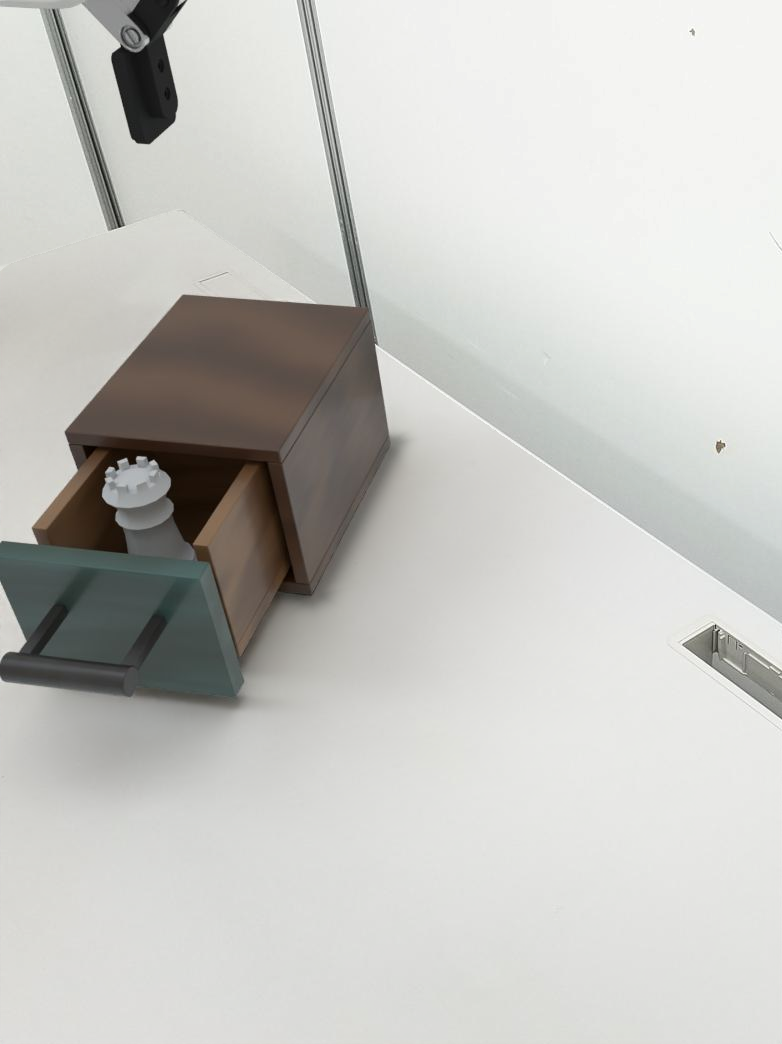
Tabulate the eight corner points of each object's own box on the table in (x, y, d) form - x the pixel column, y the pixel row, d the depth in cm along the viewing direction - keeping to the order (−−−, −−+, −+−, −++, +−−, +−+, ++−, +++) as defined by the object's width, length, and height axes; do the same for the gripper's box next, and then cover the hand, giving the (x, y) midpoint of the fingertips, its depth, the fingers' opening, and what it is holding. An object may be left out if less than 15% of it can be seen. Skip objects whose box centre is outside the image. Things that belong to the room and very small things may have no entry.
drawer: (196, 771, 59) (154, 650, 54) (-9, 744, 60) (-70, 624, 55) (327, 529, 72) (303, 413, 67) (156, 512, 74) (120, 398, 69)
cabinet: (312, 595, 69) (279, 450, 63) (114, 574, 71) (63, 431, 65) (390, 444, 80) (369, 307, 74) (217, 428, 82) (182, 293, 75)
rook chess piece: (184, 632, 64) (143, 506, 59) (110, 613, 66) (63, 489, 60) (231, 578, 67) (196, 454, 62) (160, 561, 69) (120, 438, 63)
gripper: (-364, -332, 45) (-165, 144, 56) (89, -323, 42) (200, 173, 54) (-224, -355, 50) (-69, 83, 62) (184, -349, 48) (267, 106, 59)
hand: (56, 125), depth 58 cm, fingers open, 9 cm apart
